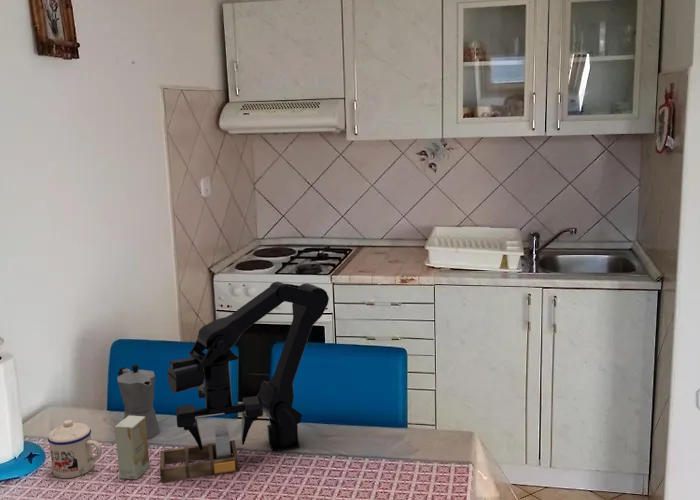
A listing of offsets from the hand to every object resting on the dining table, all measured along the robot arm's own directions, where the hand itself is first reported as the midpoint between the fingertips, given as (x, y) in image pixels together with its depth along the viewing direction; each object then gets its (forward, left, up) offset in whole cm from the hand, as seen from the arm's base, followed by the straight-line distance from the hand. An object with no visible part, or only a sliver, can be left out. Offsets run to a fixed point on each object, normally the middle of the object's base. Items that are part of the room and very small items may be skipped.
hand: (222, 446), depth 157 cm
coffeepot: (+19, -23, -4) cm, 30 cm away
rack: (+5, 0, -4) cm, 7 cm away
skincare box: (+19, -2, -4) cm, 20 cm away
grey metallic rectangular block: (0, 0, -4) cm, 4 cm away
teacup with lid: (+32, -7, -4) cm, 33 cm away
